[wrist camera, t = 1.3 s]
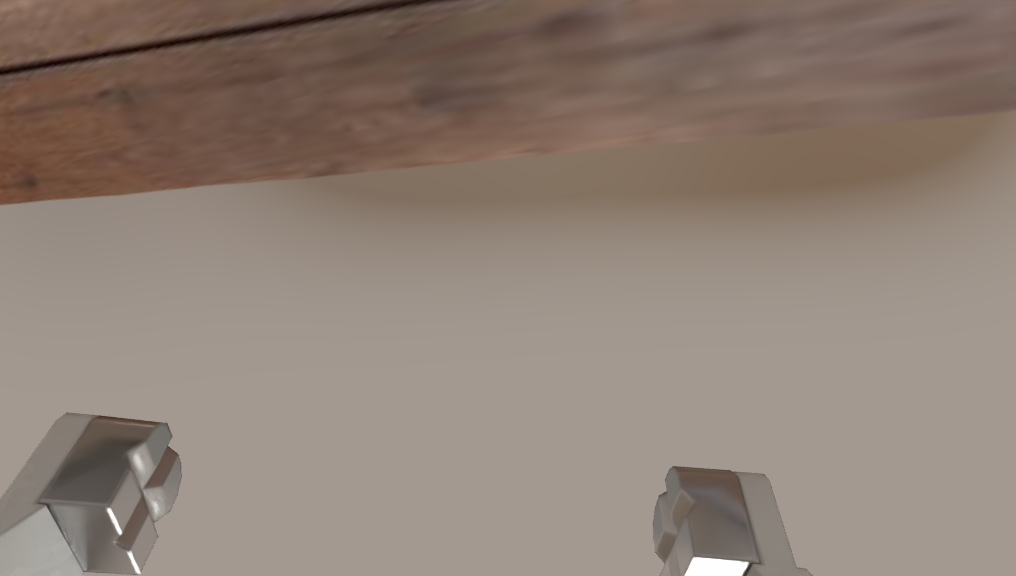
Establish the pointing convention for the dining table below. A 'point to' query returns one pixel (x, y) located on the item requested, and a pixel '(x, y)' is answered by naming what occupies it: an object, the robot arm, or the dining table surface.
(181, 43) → the dining table surface
